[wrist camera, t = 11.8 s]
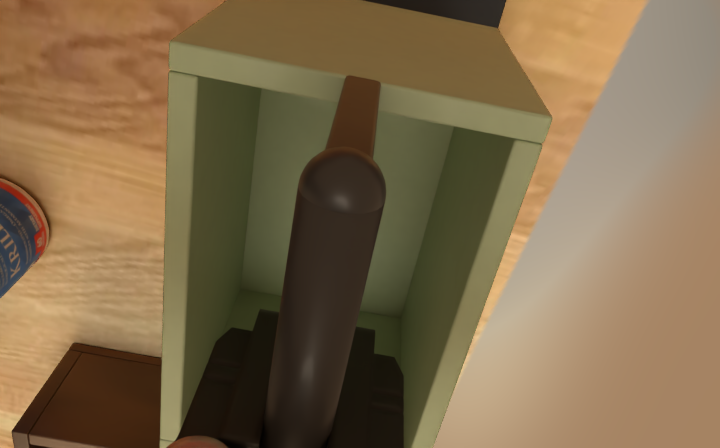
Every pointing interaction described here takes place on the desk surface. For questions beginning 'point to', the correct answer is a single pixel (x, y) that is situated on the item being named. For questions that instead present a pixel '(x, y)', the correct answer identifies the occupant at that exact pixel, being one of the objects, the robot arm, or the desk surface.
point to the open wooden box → (95, 403)
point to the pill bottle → (19, 234)
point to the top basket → (338, 198)
